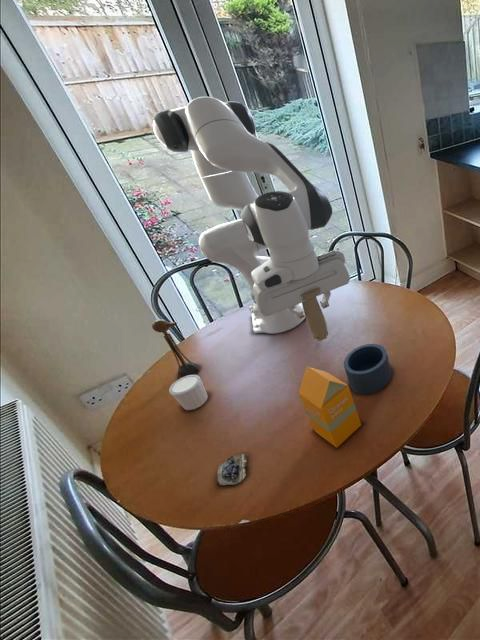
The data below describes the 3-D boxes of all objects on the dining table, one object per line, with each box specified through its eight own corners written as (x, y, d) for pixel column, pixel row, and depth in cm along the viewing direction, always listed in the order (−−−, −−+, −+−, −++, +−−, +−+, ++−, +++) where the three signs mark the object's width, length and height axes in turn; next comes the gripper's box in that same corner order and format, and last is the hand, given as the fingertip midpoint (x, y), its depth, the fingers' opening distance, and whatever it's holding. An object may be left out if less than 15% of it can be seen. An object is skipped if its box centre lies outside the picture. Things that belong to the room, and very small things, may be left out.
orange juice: (336, 448, 97) (314, 392, 87) (314, 431, 101) (290, 376, 91) (362, 424, 103) (344, 369, 93) (340, 409, 107) (320, 355, 97)
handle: (331, 343, 99) (315, 294, 91) (305, 344, 99) (286, 295, 91) (337, 330, 103) (322, 282, 95) (312, 331, 103) (295, 283, 95)
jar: (343, 377, 116) (336, 357, 112) (379, 357, 123) (375, 338, 119) (361, 401, 109) (354, 381, 105) (398, 378, 116) (394, 358, 112)
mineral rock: (243, 450, 97) (240, 445, 96) (257, 470, 93) (254, 465, 92) (212, 471, 93) (208, 466, 92) (224, 493, 88) (221, 488, 87)
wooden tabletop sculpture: (205, 364, 122) (175, 313, 112) (199, 375, 118) (168, 323, 108) (183, 368, 121) (151, 316, 110) (176, 379, 117) (142, 327, 106)
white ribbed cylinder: (216, 395, 112) (206, 377, 108) (192, 415, 106) (180, 397, 103) (198, 388, 114) (188, 371, 110) (174, 408, 108) (162, 390, 105)
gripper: (336, 243, 98) (349, 289, 105) (242, 275, 86) (264, 324, 93) (347, 252, 94) (359, 299, 101) (250, 287, 82) (271, 338, 89)
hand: (313, 311), depth 97 cm, fingers closed on handle, 4 cm apart
